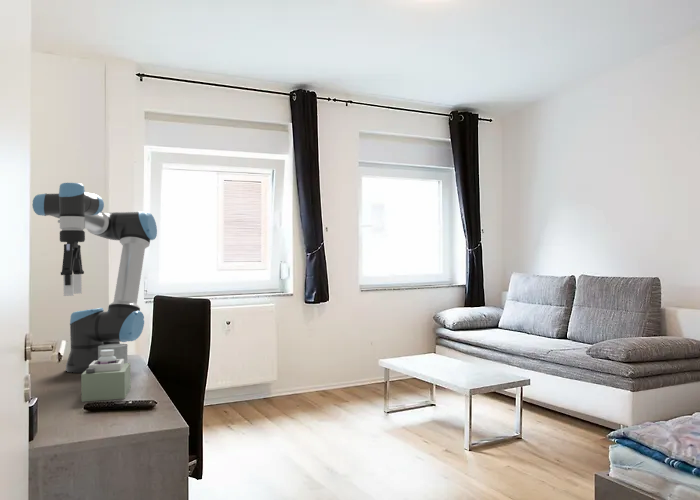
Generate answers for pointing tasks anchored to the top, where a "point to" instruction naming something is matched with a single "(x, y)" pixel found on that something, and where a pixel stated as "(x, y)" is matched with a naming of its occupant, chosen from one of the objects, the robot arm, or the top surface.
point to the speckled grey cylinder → (115, 350)
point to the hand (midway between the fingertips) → (73, 294)
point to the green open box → (106, 381)
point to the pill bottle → (107, 357)
